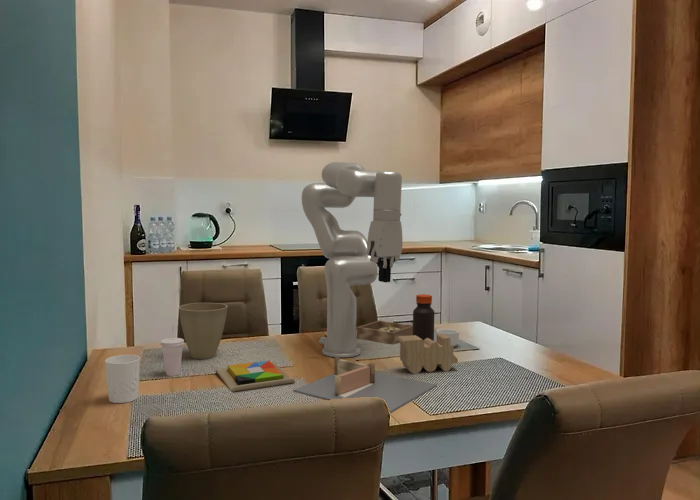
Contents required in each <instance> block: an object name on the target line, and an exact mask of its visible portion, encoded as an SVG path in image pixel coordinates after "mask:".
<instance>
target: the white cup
mask: <svg viewBox="0 0 700 500" xmlns="http://www.w3.org/2000/svg"><path fill="white" fill-rule="evenodd" d="M104 363H105V365H104V366H105V378H106V387H107V397H108V401H109V402H110V403H113V404H126V403H130V402H133V401H136V400H137V399H138V398H139V385H140V376H141V375H140V373H141V371H140V369H141V368H140V367H141V365H140V363H141V357H140V356H139V355H137V354H118V355H114V356H110V357H107V358H106V359H105V360H104Z"/></svg>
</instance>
